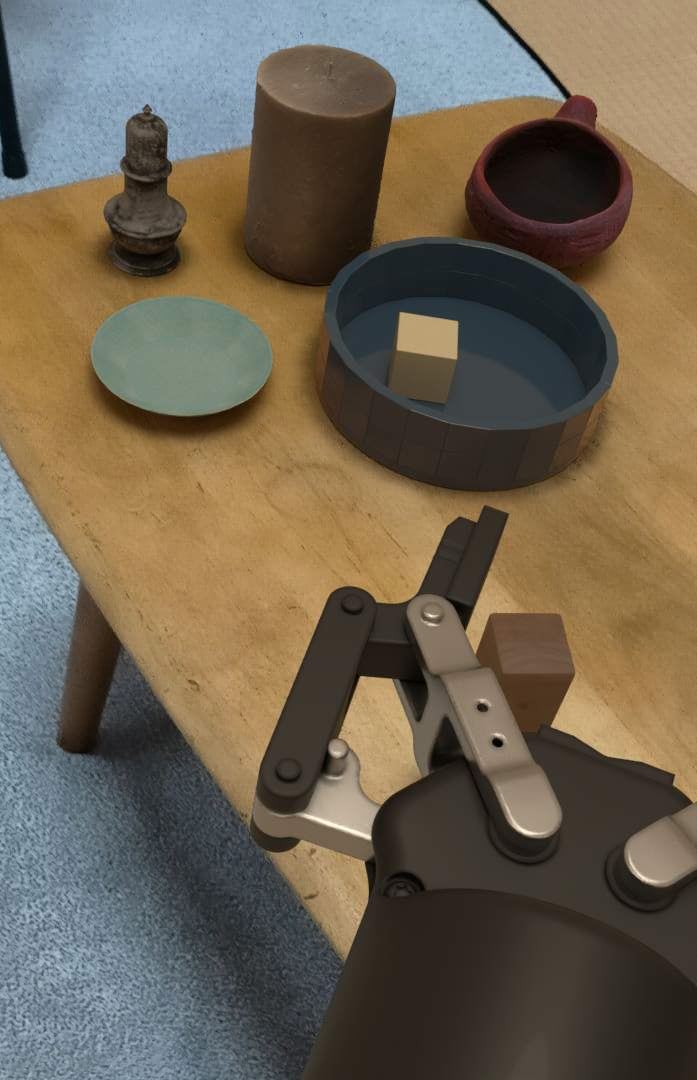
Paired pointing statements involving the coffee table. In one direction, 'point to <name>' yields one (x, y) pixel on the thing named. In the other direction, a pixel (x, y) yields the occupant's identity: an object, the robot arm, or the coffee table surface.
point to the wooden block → (528, 664)
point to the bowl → (551, 188)
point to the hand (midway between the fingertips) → (643, 586)
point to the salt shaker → (145, 203)
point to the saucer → (181, 356)
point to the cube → (423, 357)
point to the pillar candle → (316, 160)
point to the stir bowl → (467, 363)
